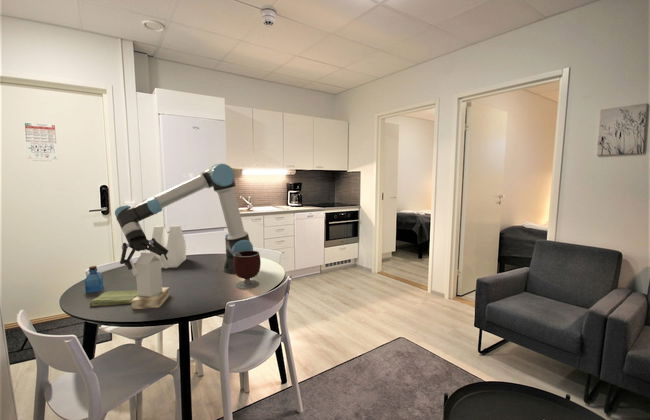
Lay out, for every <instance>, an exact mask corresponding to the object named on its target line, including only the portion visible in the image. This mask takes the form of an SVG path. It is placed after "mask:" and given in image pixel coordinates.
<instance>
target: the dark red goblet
mask: <svg viewBox="0 0 650 420" xmlns="http://www.w3.org/2000/svg"><path fill="white" fill-rule="evenodd" d="M231 252H233V253H235V254H234V259H233V267H234V272H235V273H234V274H235V276H237V278H240V279H244V280H241V281H238V282H236V283H235V288H236V289H238V290H252V289H255V288H257V287H259V286H260V281H258V280H255V279H252V278H254V277H256V276H257V275H258V274H259V273H260V269H261V263H262V262H261V255H260V252H259V251H257V250H253V251H240V252H235V251H231Z"/></svg>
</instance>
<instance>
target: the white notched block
mask: <svg viewBox="0 0 650 420" xmlns="http://www.w3.org/2000/svg"><path fill="white" fill-rule="evenodd" d="M181 227H182V226H181V225H170V226H169V230H168V232H167V229H166V226H165V225H154V227H153V231H152V236H151V237H152V238H154V239H155V240H156V242H158V243H159V244H160V245H162V246H163V247H164V248H166V249H167V250H168V253H167V255H166V256H167V258H168V260H167V262H168V264H169V266H168V268H167V269H169V268H178V267H179V266H180V265H181V264H182V263H183V262H185V261H186V259H187V249H186V248H187V247H186V240H185V237H184V233H183V231H182V228H181ZM152 238H151V239H152ZM152 246H153V245H152ZM149 253H153V252H151V251H149ZM154 254H155V253H154ZM155 256H156V257H157V258H159V259H160V257H161V256H160V255H157V254H155ZM160 260H161V259H160ZM161 269H166V268H165V266H164V264H163V263H162V261H161Z"/></svg>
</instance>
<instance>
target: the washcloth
mask: <svg viewBox="0 0 650 420" xmlns="http://www.w3.org/2000/svg"><path fill="white" fill-rule="evenodd" d="M137 295H138V294H137V289H131V290H129V289H128V290H118V291H117V290H113V291H112V290H111V291H105V292H103V293H101V294H100V295H99V296H98V297H95V298H94V299H92V300H91V301H89V305H90V306H91V307H107V306H116V305H117V306H119V305H129V304H131V305H132V302H131V300H132V299H134V298H135V297H136V296H137Z"/></svg>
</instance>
